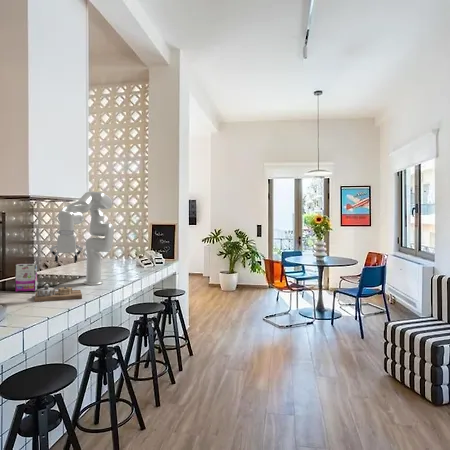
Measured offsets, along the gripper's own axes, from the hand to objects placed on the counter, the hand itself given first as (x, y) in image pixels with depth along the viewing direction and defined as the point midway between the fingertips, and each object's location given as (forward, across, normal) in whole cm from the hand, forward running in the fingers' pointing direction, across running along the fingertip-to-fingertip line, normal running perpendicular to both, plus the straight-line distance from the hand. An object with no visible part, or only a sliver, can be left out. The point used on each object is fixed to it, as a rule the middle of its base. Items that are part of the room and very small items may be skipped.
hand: (66, 262), depth 209 cm
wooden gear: (+18, 0, 0) cm, 18 cm away
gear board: (+20, -4, 0) cm, 20 cm away
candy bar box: (+20, -22, +23) cm, 37 cm away
